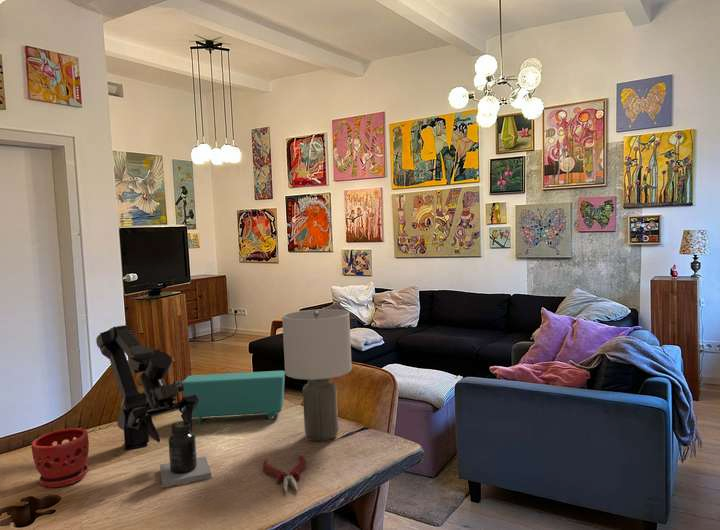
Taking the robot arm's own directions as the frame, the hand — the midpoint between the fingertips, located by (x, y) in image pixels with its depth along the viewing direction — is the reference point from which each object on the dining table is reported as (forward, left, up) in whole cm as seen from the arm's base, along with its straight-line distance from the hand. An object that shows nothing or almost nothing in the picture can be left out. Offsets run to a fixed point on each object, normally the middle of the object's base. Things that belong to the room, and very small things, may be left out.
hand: (175, 436), depth 149 cm
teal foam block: (+22, +36, -10) cm, 43 cm away
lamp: (+43, +4, -9) cm, 44 cm away
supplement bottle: (+1, -4, -8) cm, 9 cm away
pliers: (+24, -18, -10) cm, 32 cm away
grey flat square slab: (+2, -4, -9) cm, 10 cm away
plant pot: (-28, +8, -9) cm, 31 cm away
